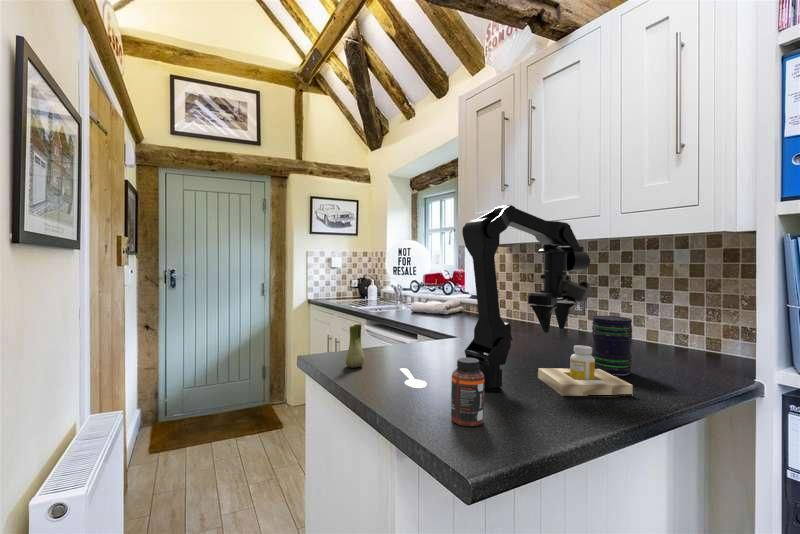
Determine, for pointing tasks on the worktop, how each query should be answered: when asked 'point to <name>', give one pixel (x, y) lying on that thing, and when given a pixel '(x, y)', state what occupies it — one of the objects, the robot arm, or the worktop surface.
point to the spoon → (412, 380)
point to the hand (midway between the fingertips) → (554, 330)
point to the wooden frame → (583, 383)
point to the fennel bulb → (355, 348)
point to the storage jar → (612, 344)
